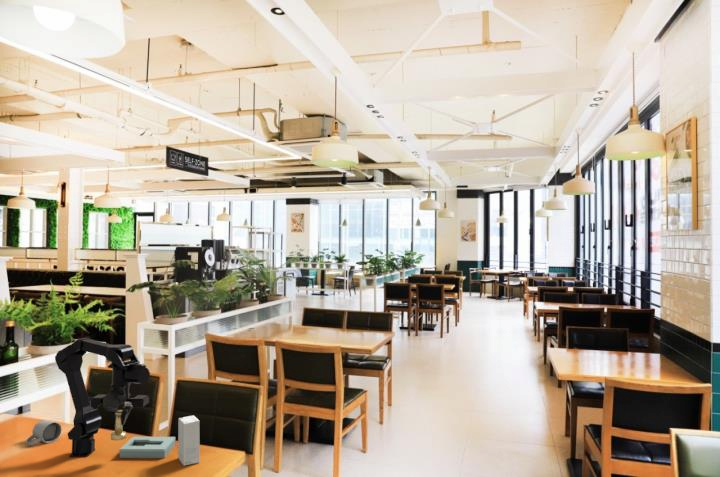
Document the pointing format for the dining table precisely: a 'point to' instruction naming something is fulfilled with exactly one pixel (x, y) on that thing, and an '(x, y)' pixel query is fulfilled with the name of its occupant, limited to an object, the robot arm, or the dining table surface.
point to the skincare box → (188, 440)
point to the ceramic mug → (45, 432)
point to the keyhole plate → (147, 447)
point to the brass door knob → (118, 427)
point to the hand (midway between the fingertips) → (119, 424)
